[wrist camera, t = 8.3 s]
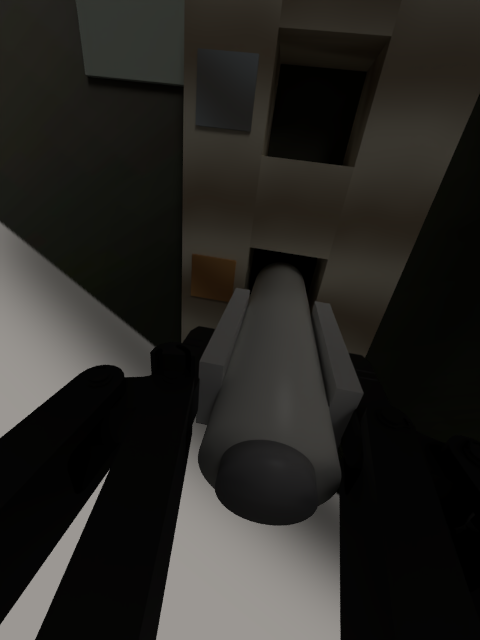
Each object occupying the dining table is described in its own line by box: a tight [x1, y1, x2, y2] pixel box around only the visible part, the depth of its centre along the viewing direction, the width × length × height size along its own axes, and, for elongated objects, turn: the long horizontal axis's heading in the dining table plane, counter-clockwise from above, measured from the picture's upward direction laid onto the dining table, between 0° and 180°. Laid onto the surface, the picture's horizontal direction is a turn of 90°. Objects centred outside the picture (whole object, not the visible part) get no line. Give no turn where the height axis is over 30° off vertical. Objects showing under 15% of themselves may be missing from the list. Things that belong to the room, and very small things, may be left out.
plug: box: [198, 262, 341, 525], centre depth 12 cm, size 4×4×15 cm
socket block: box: [181, 0, 480, 358], centre depth 17 cm, size 22×14×4 cm, turn 172°
